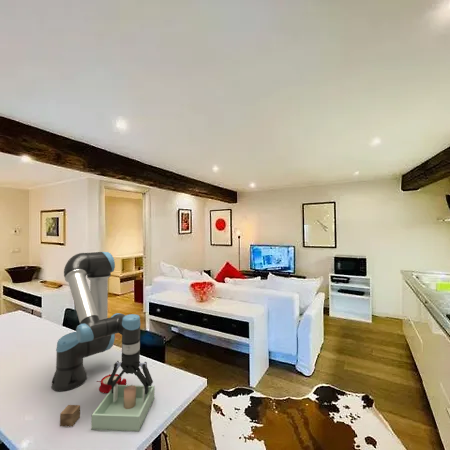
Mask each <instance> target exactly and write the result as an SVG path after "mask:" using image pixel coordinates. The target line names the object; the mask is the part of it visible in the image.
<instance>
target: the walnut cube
mask: <svg viewBox="0 0 450 450" xmlns="http://www.w3.org/2000/svg"><path fill="white" fill-rule="evenodd" d="M80 418H81V405H78V404H68V405H67V406H65V408H64V409H63V410H62V411H61V412H60V414H59V427H68V426H69V427H70V426H72V428H73V427H74V426H75V424H76V423H77V422H78V421H79V419H80Z"/></svg>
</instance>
